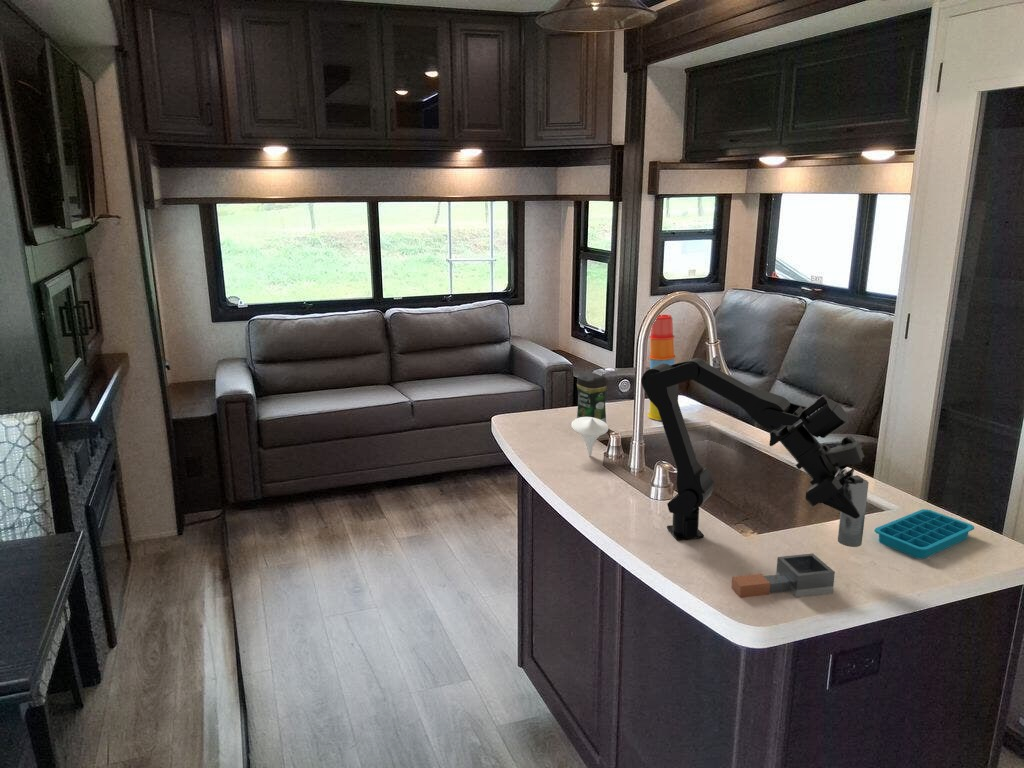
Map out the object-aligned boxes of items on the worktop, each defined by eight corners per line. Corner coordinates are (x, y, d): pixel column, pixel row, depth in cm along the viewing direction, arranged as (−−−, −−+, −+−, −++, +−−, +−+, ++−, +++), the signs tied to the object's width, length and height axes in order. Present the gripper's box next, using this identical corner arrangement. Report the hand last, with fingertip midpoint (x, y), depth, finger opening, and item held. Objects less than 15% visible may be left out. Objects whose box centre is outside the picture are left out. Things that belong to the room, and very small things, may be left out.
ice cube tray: (975, 539, 164) (977, 526, 163) (921, 563, 154) (923, 550, 153) (923, 520, 174) (925, 508, 173) (870, 542, 164) (871, 529, 163)
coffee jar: (572, 427, 244) (572, 372, 239) (591, 422, 248) (591, 368, 244) (591, 435, 236) (591, 378, 231) (610, 430, 240) (611, 374, 236)
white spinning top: (614, 458, 216) (615, 419, 213) (581, 464, 212) (581, 424, 209) (597, 447, 225) (597, 409, 222) (565, 452, 221) (565, 414, 218)
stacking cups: (657, 422, 247) (660, 319, 238) (642, 414, 256) (644, 314, 247) (684, 419, 250) (688, 317, 241) (668, 410, 259) (671, 312, 250)
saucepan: (727, 582, 148) (728, 562, 147) (811, 573, 150) (812, 553, 149) (744, 603, 140) (746, 581, 139) (832, 593, 143) (834, 571, 142)
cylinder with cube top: (833, 537, 151) (839, 474, 147) (853, 535, 151) (860, 472, 148) (846, 547, 147) (852, 482, 143) (866, 545, 147) (873, 480, 144)
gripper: (829, 441, 138) (888, 509, 135) (848, 415, 153) (902, 476, 149) (782, 473, 144) (837, 539, 141) (805, 445, 159) (856, 504, 156)
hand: (860, 512), depth 147 cm, fingers closed on cylinder with cube top, 4 cm apart
